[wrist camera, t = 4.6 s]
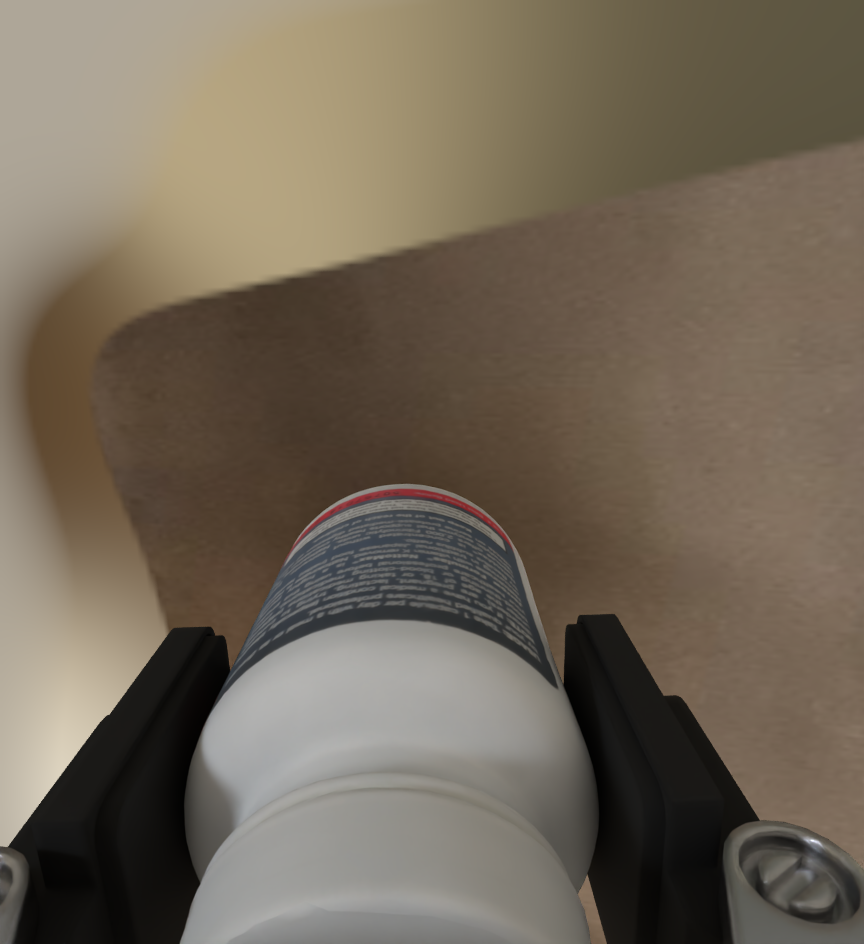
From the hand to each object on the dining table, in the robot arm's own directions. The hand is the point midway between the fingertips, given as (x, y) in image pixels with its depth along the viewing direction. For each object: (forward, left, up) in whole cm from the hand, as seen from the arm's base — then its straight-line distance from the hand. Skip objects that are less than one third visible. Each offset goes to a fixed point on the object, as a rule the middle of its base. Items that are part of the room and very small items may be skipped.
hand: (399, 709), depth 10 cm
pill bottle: (0, 0, -4) cm, 4 cm away
